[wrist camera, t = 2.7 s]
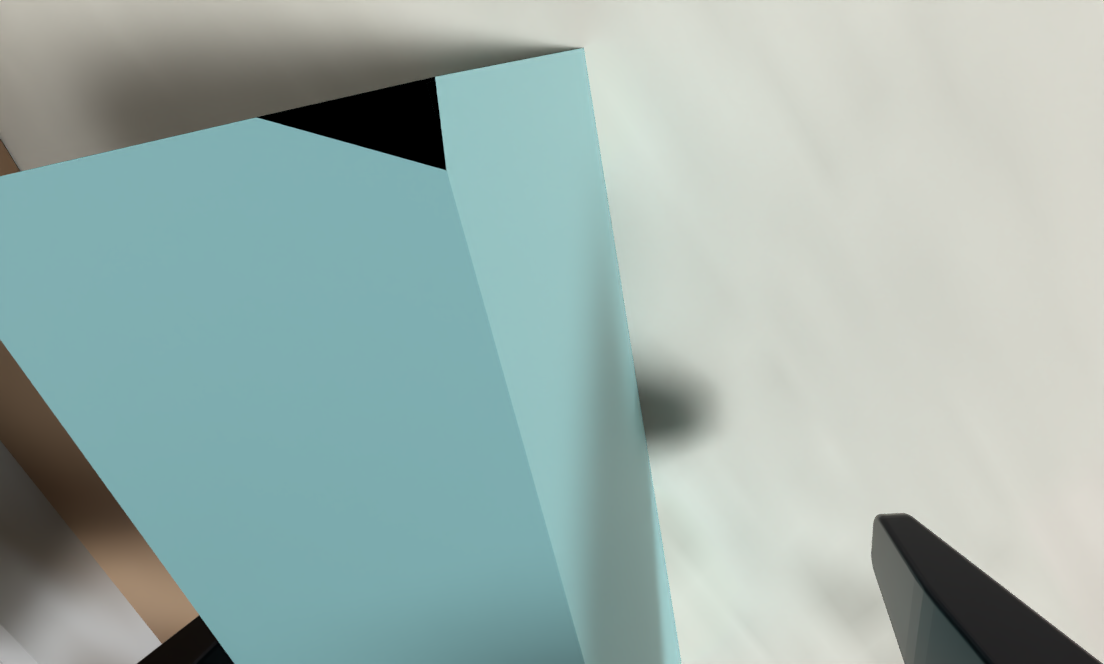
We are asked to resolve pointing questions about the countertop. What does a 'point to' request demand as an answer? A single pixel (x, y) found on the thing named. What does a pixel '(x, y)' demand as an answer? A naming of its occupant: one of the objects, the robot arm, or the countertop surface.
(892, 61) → the countertop surface
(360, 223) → the door panel
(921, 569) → the robot arm
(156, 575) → the track
